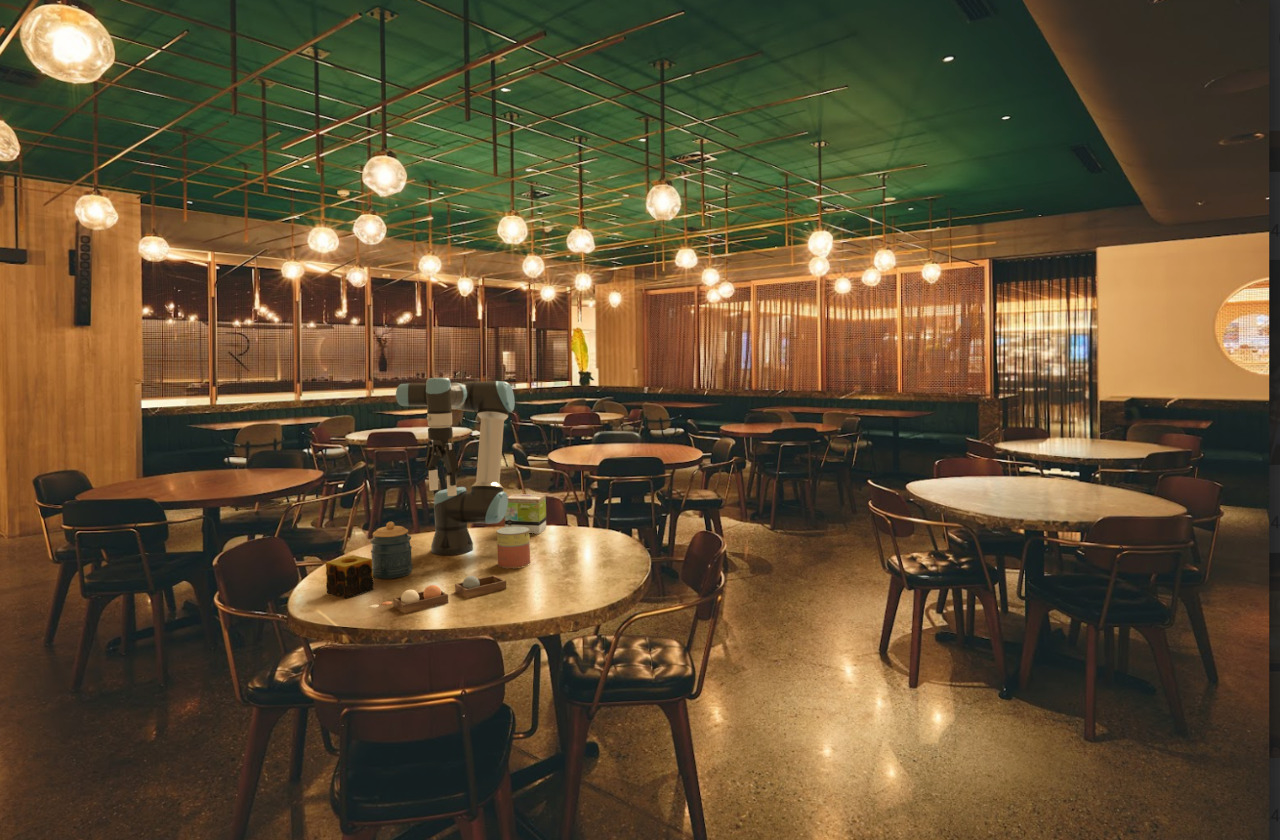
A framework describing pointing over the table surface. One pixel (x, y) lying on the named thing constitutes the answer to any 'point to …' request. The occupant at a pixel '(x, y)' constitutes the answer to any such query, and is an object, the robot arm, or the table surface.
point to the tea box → (526, 512)
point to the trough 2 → (482, 586)
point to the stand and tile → (378, 605)
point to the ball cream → (409, 596)
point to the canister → (391, 552)
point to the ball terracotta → (431, 592)
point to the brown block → (349, 576)
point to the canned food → (513, 546)
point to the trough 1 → (420, 603)
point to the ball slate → (471, 582)
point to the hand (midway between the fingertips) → (442, 492)
